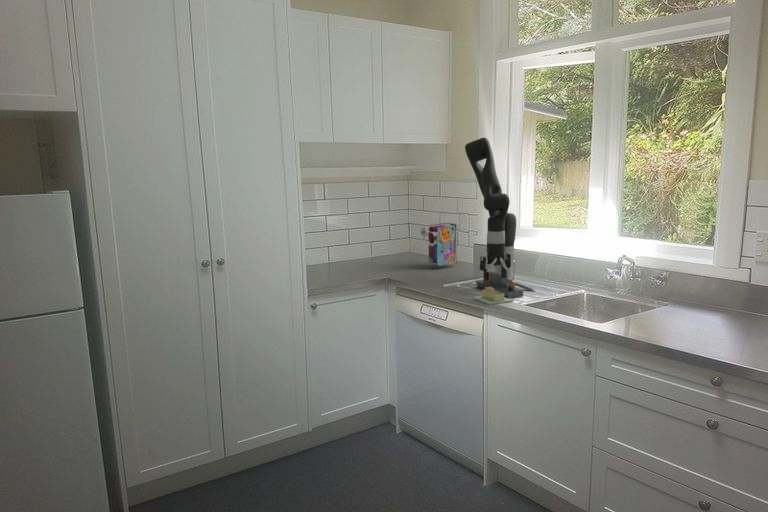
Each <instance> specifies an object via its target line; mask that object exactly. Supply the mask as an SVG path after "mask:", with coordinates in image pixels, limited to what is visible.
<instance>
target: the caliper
mask: <svg viewBox="0 0 768 512" xmlns="http://www.w3.org/2000/svg"><path fill="white" fill-rule="evenodd" d="M508 280H511V279H509V278H508ZM507 285H508V281H507ZM515 287H517V288H520V289H522V290H526V291H529V292H537V290H535V289H534V287H531V286H528V285H525V284H522V283H521V282H517V281H515Z"/></svg>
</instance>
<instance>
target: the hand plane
mask: <svg viewBox="0 0 768 512" xmlns="http://www.w3.org/2000/svg"><path fill="white" fill-rule="evenodd" d="M482 273H483V274H482V280H477V281H476V288H477V289H481V290H485V287H492V288H494V290H496V291H499V292H502V293H504V297H506V298H508V299H515V298H523V297H524V289H523V288H520V287H517V286H515V282H516V279H515V280H508V276H506V278H502V277H501V274H500V273H495V272H494V270H493V271H492V270H489V281H486V280H485V279H484V271H482ZM507 281H508V284H507Z"/></svg>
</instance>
